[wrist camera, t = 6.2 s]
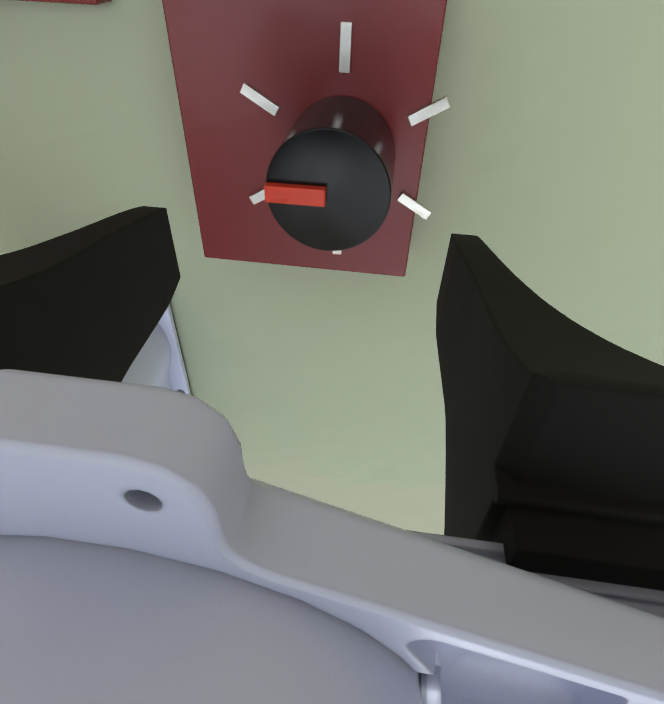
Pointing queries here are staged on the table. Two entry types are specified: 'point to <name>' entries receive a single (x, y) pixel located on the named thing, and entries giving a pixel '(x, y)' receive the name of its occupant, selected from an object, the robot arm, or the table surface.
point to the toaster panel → (299, 110)
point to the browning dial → (333, 175)
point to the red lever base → (73, 1)
